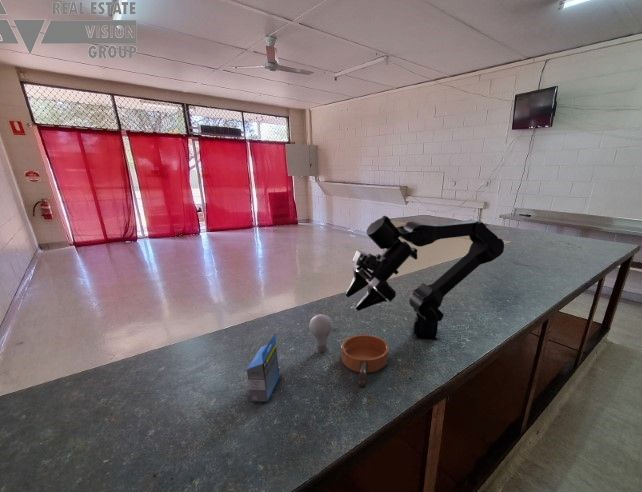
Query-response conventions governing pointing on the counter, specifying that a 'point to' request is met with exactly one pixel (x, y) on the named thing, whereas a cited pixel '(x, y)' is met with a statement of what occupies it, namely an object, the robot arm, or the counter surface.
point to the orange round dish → (365, 352)
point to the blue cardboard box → (263, 372)
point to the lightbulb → (321, 330)
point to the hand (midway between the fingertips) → (351, 302)
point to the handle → (363, 375)
